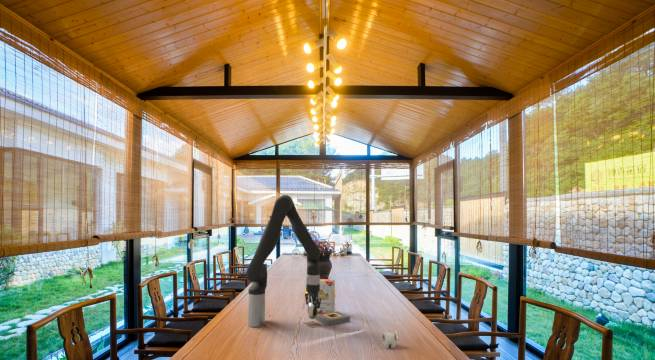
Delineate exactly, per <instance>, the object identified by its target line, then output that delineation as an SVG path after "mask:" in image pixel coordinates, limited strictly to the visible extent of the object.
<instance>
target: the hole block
mask: <svg viewBox="0 0 655 360" xmlns="http://www.w3.org/2000/svg"><path fill="white" fill-rule="evenodd" d="M315 321H316V322H318V323H320V324H322V325H323V324H324V326H332V325H333V326H334V325H336V324H337V325H338V324H342V323H347V322H350V321H351V317H350V315H348V314H345V313H343V312H340V311H337V310H336V311H335V312H331V313H326V314H322V313H320V314H317V315H316V318H315Z"/></svg>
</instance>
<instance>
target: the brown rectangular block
mask: <svg viewBox="0 0 655 360" xmlns="http://www.w3.org/2000/svg"><path fill="white" fill-rule="evenodd" d="M302 324H303V325H305V326H307V327H309V328H311V329H315V328H319V327H324V325H323V324H322V323H320V322H318V321H316V320H315V321H314V320H313V321H312V320H311V321H308V322H303V323H302Z"/></svg>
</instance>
